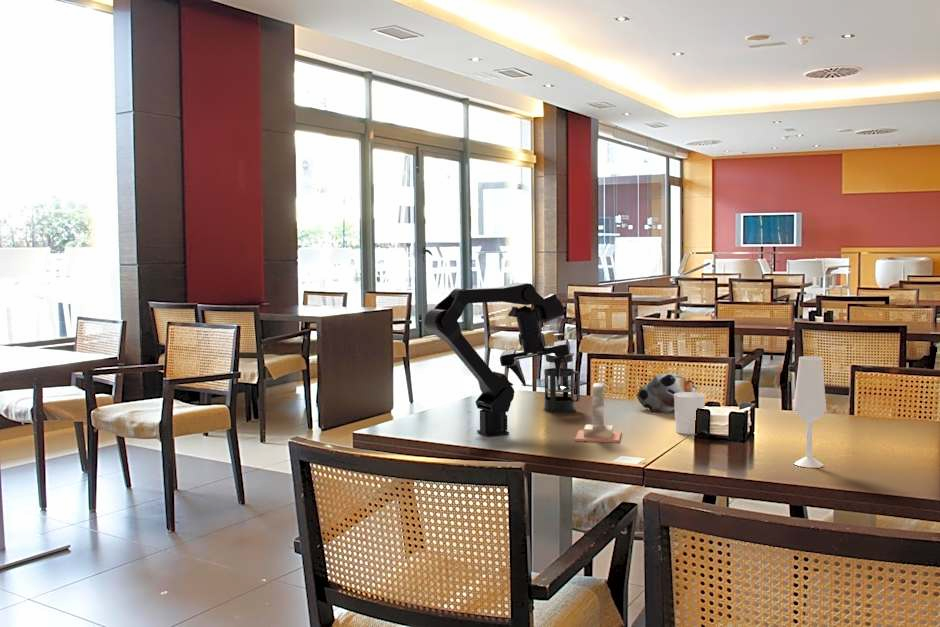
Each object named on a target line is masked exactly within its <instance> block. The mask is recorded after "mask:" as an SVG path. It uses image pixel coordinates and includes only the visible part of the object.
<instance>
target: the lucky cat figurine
mask: <svg viewBox="0 0 940 627" xmlns="http://www.w3.org/2000/svg"><path fill="white" fill-rule="evenodd" d="M696 390H697V387H696V385H695V384H693V381H692V380H690V379H688V380H686V379H685V378H684V377H683V376H681V375H680V374H677V373H665V374H664V373H662V374H660V375H659V374H655V375H654V377H653V379H651V380H650V381H649V383H648V384H644V385H642V386H641V387H639V389H638V391H637V393H636V398H637V400H638V402H639V403H640V404H641V406H642V407H643V408H645V409H649V411H650V412H651V413H657V414H658V413H661V414H662V413H663V414H669V413H671V412H673V411H675V408H674V394H675V393H679V392H696Z"/></svg>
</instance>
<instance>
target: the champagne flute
mask: <svg viewBox="0 0 940 627" xmlns="http://www.w3.org/2000/svg"><path fill="white" fill-rule="evenodd" d="M824 376H825V375H824V366H823V357H820V356H805V355H804V356H799V357H798V366H797V372H796V382H795V390H794V398H793V399H794V400H793V409H794V411H795V412H796V414H797V415H798V416H799V417H800V418H801V419H802V420H804V422H806V435H805V437H806V439H805V440H806V441H805V445H806V446H805V447H806V448H805V456H804V457H802V458H800V459H798V460H797V461H795V463H794V462H793V463H794V464H795V465H798V466H802V467H803V466H804V467H820V466H822V465H824V464H823V463H822V462H820V461H818V460H817V459H816V458H814V456H813V422H815V421H817V420H818V419H819V418H821V417H822V416H823V414H824V413H825V411H826V410H827V401H826V390H825V378H824Z"/></svg>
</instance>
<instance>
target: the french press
mask: <svg viewBox="0 0 940 627" xmlns="http://www.w3.org/2000/svg"><path fill="white" fill-rule="evenodd" d="M551 335H552V336H554V337H555V336H557V341H562V340H561V339H562V338H561V337H562V336H563V337H564V336H566V335H567V334H566V333H560V332H559V333H553V334H551ZM574 355H575V353H573V352H570V354H569V355H566V358H565V359H562V360H561V364H562V363H563V364H564V363H565V364H566V363H571V362H573V361H574V359H573V358H574V357H573V356H574ZM544 357H545V361H546V362H547V363H554V364H555V360H554V358H555V354H554V353H552V354H546V355H544ZM543 371H544V372H543V374H544V407H543V410H544V411H545V412H548V413H549V412H550V413H569V412H570V411H571V412H573V411H575V410H576V407H575V403H577V402H580V400H581V376H580V375H581V372H580V371H575V369H573V368H568V367H567V368H566V367H560V375H559V381H558V384H557V382H556V380H557V377H556V370H555V367H553V368H552V367H551V368H545V369H544V370H543ZM575 374H576V399H575ZM561 377H562V384H561V380H560V379H561ZM569 377H570V386H569ZM556 384H557V385H556ZM556 393H557V394H559V393H561V394H562V395H557V394H556ZM569 393H570V396H569ZM549 394H550V396H549Z"/></svg>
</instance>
